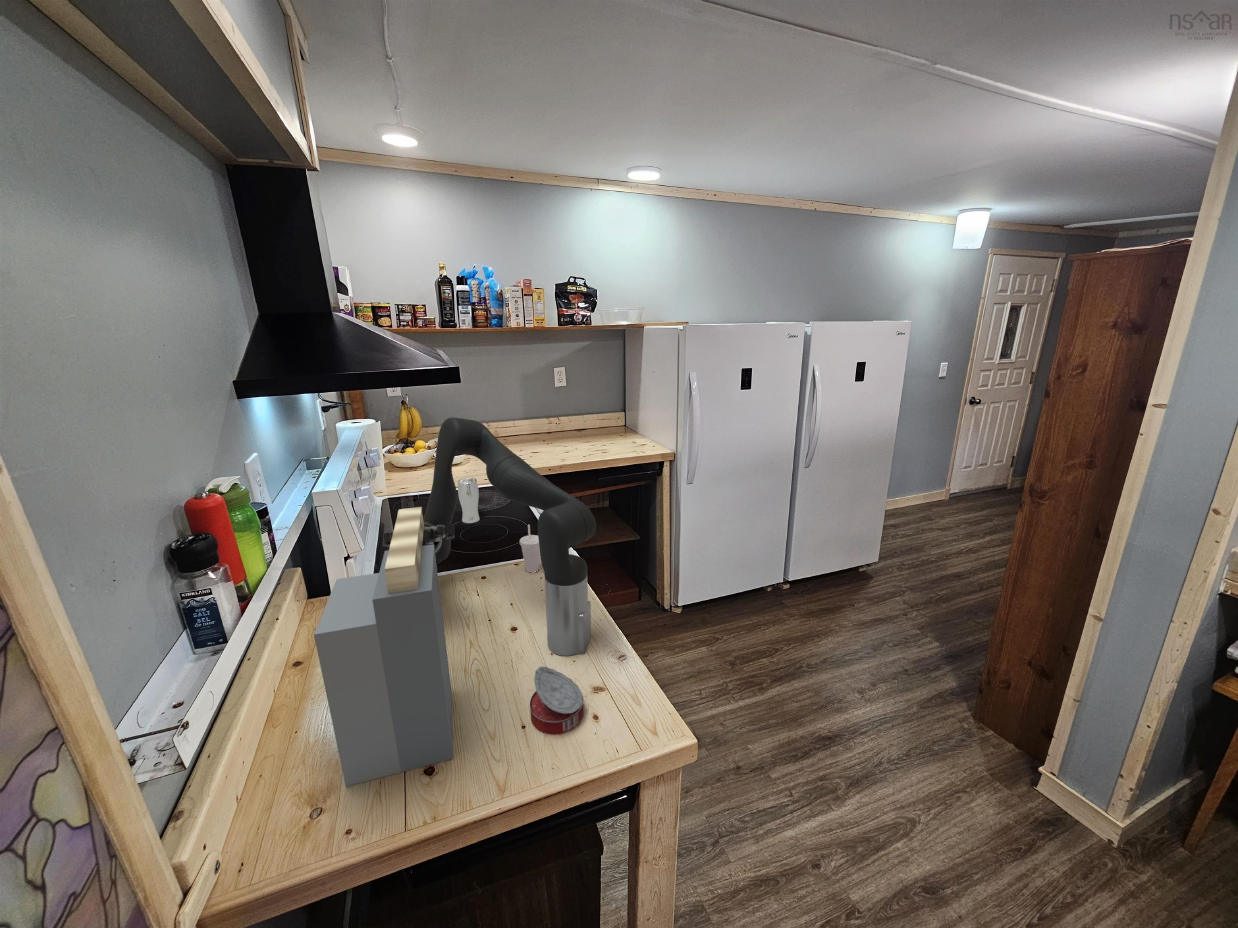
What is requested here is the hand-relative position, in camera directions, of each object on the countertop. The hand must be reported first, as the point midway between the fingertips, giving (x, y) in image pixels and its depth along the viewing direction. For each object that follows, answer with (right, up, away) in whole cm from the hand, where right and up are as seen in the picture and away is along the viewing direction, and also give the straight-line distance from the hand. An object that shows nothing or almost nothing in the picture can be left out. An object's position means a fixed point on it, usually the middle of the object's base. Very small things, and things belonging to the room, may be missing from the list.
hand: (417, 532), depth 102 cm
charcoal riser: (+4, -34, -15) cm, 37 cm away
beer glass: (-12, -6, +76) cm, 77 cm away
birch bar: (+6, -1, -18) cm, 19 cm away
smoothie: (+17, -17, +41) cm, 48 cm away
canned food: (+30, -33, -10) cm, 46 cm away
